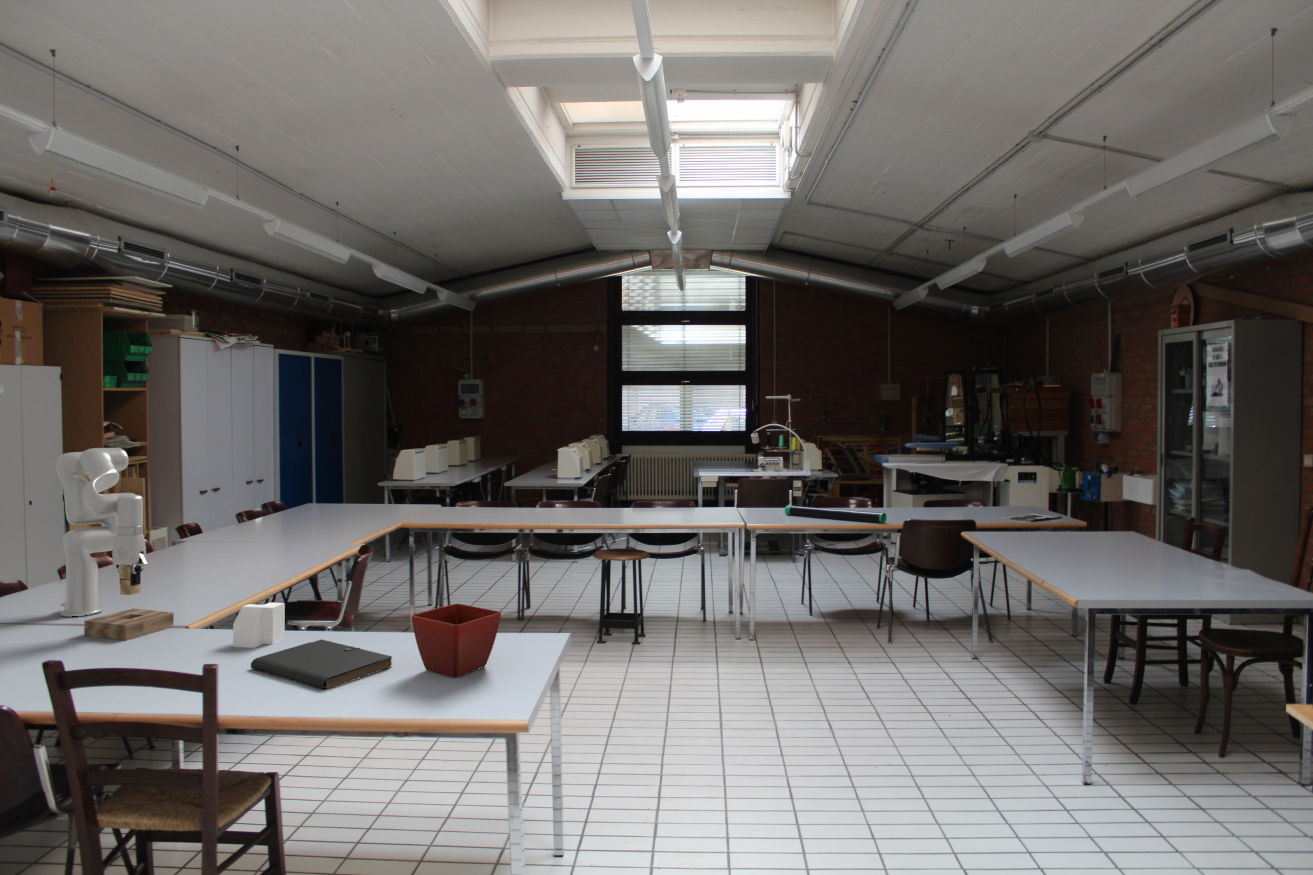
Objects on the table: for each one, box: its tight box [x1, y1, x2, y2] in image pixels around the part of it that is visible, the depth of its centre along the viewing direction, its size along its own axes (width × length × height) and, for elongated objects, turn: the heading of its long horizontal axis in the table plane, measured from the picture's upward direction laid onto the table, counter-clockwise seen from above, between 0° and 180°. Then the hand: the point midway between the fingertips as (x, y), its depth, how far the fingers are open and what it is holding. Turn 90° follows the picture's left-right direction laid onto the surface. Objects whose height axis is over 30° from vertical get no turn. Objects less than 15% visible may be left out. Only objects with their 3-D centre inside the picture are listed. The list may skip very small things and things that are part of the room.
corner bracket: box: [232, 602, 286, 649], centre depth 257 cm, size 11×11×12 cm
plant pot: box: [411, 603, 502, 679], centre depth 233 cm, size 19×19×17 cm
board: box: [83, 608, 175, 641], centre depth 268 cm, size 18×18×5 cm
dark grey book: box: [250, 639, 393, 691], centre depth 232 cm, size 33×4×24 cm
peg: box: [119, 565, 141, 596], centre depth 267 cm, size 4×4×10 cm
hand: (130, 583), depth 267 cm, fingers closed on peg, 4 cm apart
